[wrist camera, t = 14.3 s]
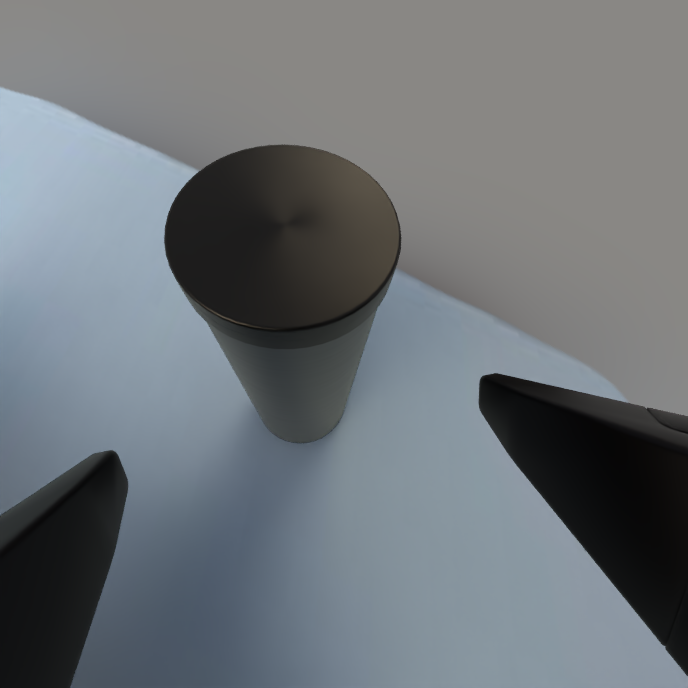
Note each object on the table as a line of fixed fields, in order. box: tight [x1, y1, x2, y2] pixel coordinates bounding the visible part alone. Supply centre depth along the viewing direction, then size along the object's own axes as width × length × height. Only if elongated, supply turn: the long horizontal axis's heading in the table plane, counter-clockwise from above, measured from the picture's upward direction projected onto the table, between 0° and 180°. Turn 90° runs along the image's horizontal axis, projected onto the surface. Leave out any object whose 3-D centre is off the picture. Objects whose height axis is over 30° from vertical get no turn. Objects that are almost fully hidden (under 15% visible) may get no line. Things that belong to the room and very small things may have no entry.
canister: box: [164, 145, 401, 443], centre depth 13 cm, size 5×5×13 cm
